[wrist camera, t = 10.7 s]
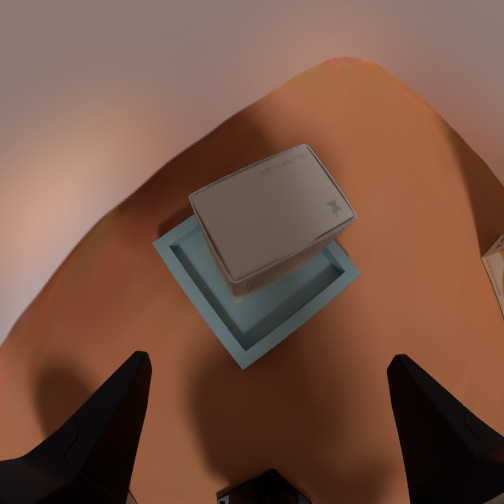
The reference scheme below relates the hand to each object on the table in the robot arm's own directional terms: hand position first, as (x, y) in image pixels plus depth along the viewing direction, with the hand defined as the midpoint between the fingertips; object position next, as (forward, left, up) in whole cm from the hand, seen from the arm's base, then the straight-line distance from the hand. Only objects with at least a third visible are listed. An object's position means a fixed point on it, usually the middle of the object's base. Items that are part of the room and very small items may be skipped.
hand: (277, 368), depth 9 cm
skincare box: (+5, -4, -13) cm, 15 cm away
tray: (+5, -4, -13) cm, 15 cm away
